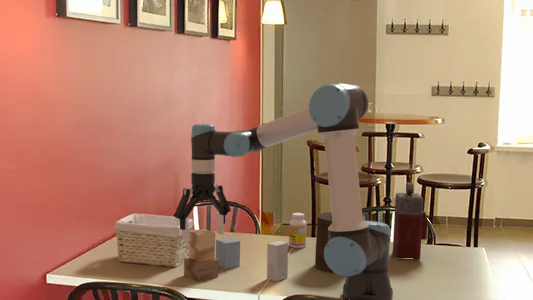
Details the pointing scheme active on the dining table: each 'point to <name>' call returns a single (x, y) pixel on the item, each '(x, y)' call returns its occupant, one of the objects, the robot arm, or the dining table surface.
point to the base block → (200, 269)
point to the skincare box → (277, 260)
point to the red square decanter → (409, 224)
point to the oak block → (202, 245)
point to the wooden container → (322, 240)
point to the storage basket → (152, 240)
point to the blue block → (228, 253)
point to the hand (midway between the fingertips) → (203, 236)
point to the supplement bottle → (297, 231)
